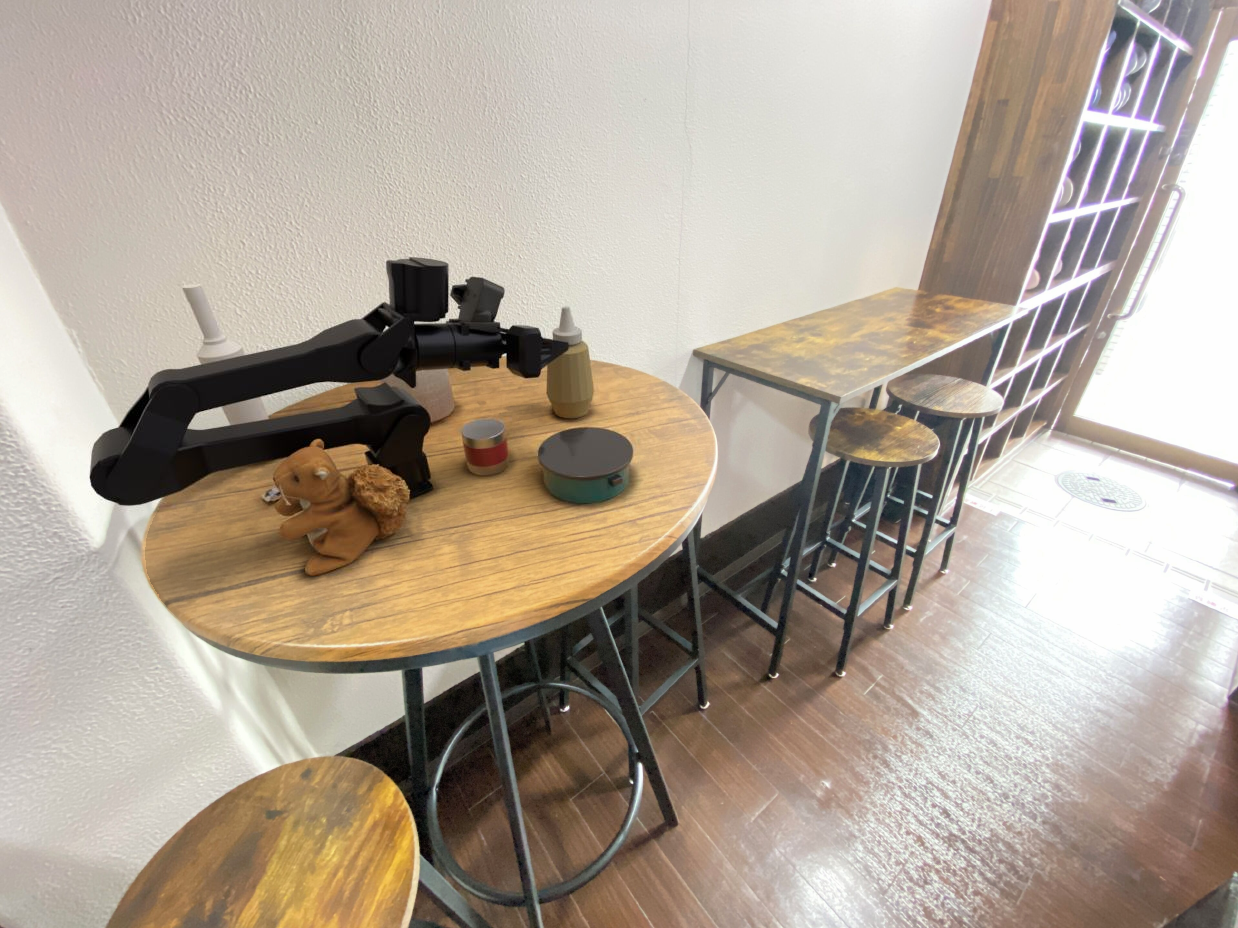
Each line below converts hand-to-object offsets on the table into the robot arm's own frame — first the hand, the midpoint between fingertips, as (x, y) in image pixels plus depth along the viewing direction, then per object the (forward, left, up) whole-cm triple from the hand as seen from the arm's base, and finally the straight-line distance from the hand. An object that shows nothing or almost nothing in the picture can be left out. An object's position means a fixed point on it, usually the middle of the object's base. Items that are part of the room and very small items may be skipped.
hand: (550, 341), depth 78 cm
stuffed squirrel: (-33, -7, -15) cm, 37 cm away
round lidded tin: (-4, -14, -15) cm, 21 cm away
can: (-13, -2, -15) cm, 20 cm away
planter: (-14, +20, -15) cm, 29 cm away
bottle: (-38, +22, -15) cm, 47 cm away
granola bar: (-37, +9, -15) cm, 41 cm away
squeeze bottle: (+6, +4, -15) cm, 17 cm away
